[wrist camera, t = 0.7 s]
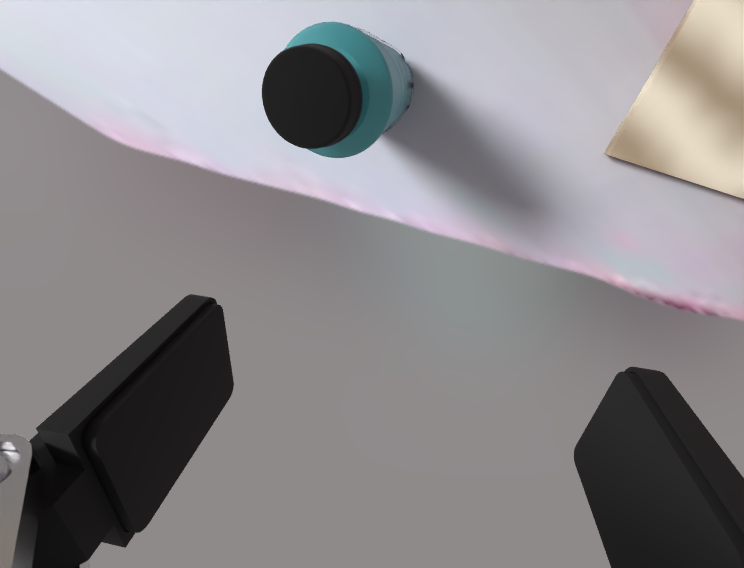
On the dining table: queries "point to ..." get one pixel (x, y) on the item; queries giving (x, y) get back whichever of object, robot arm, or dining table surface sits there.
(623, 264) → the dining table surface
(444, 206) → the dining table surface
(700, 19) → the birch board
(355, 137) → the beverage bottle
